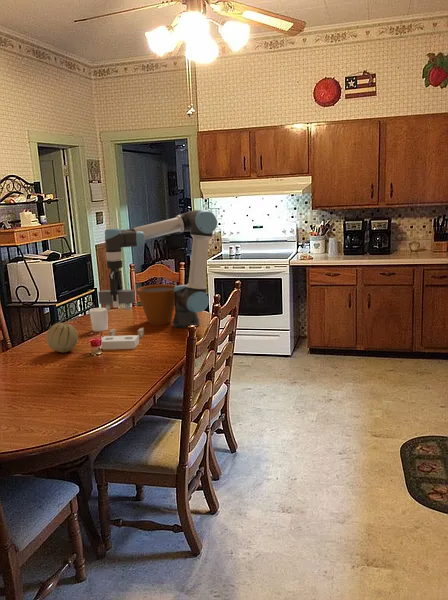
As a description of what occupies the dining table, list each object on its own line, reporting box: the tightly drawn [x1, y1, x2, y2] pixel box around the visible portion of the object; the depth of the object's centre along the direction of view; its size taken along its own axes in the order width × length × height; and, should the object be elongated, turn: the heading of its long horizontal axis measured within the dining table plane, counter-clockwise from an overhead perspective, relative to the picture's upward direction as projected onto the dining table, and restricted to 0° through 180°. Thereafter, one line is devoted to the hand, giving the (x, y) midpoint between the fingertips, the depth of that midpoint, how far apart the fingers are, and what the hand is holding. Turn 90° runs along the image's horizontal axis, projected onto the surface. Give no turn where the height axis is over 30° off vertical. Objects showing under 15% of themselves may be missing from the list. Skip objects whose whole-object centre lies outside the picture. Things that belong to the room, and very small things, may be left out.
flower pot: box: [136, 283, 177, 326], centre depth 310 cm, size 24×24×20 cm
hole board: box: [101, 334, 140, 350], centre depth 266 cm, size 18×10×4 cm, turn 87°
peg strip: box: [97, 289, 136, 311], centre depth 267 cm, size 17×5×10 cm, turn 85°
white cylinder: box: [89, 307, 109, 332], centre depth 297 cm, size 10×10×12 cm
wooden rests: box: [108, 327, 145, 339], centre depth 281 cm, size 17×6×4 cm, turn 87°
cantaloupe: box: [46, 320, 79, 353], centre depth 259 cm, size 15×15×15 cm
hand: (117, 306), depth 267 cm, fingers closed on peg strip, 5 cm apart
